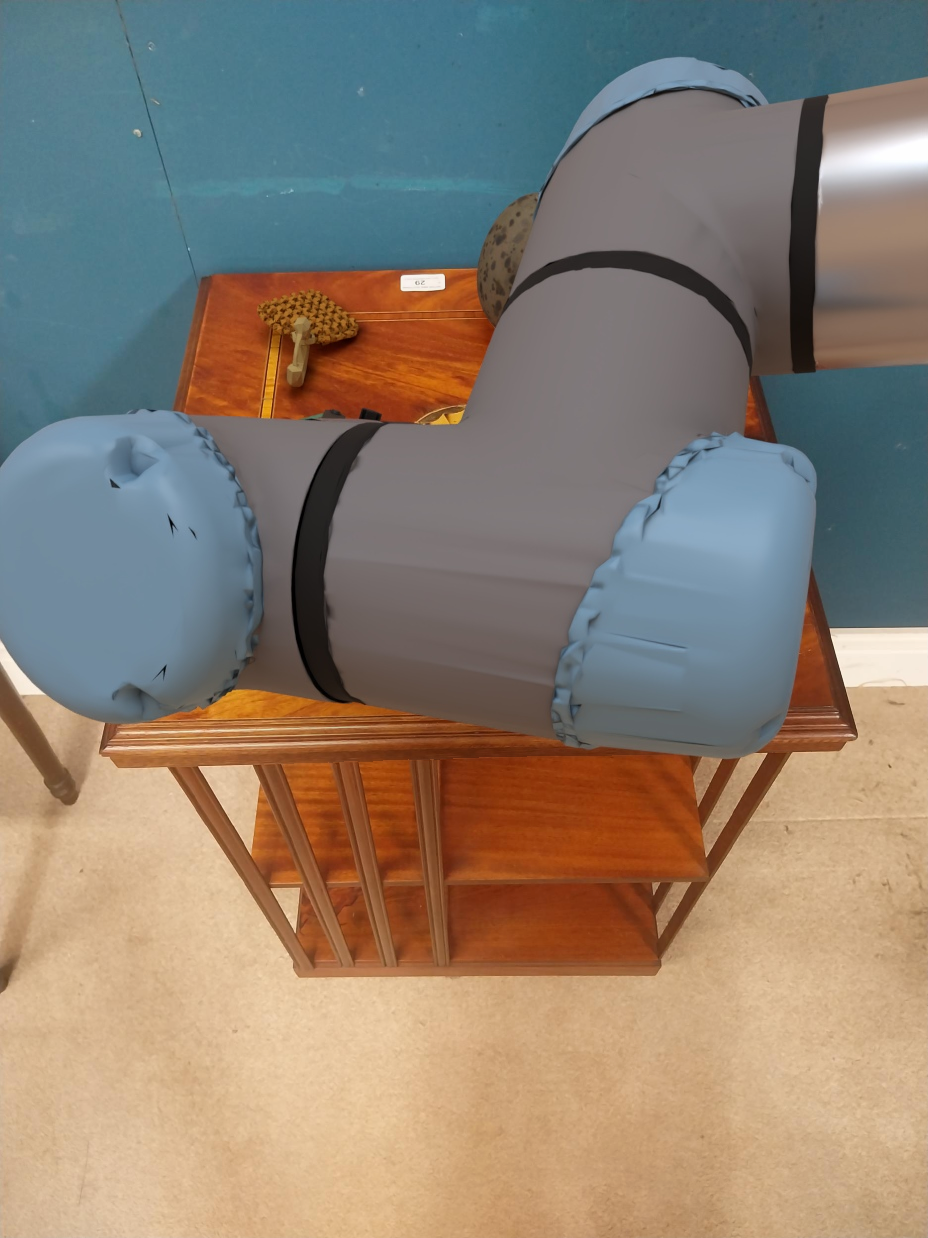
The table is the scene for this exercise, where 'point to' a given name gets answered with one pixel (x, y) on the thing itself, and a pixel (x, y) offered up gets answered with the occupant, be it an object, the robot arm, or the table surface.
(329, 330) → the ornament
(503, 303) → the decorative egg
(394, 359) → the table surface
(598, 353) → the robot arm
